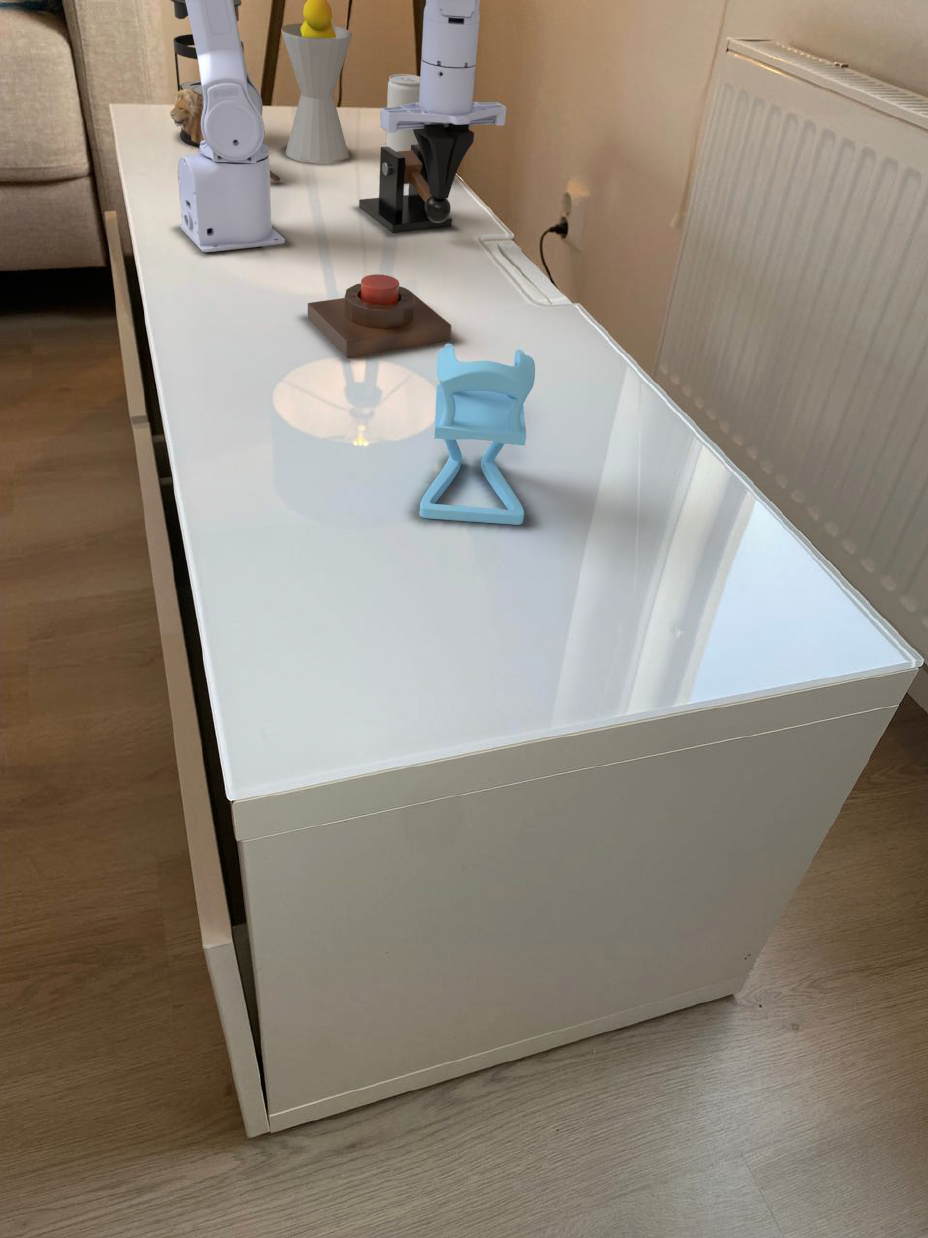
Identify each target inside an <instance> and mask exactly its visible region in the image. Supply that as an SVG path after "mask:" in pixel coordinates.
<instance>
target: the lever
mask: <svg viewBox="0 0 928 1238" xmlns="http://www.w3.org/2000/svg"><path fill="white" fill-rule="evenodd" d="M396 152H397V153H399V154H400V155H402V156H404V157H405V176H404V185H409V184H410V183H411V184H412V185H413V186H414V188H415V189H416V190H417V192H418V193H419V195H420V196H421V197H422V199H423V200H424V202H425V214H426V216H427V218H428V219H429V220H431V221H432V222H435V223H440V222H443V221H445V220H446V219H447V218H448V217H450V215H451V212H452V211H451V210H452V207H451V203H450V200H449V199H448V198H444V199H437V198H436V197H434V196H433V195H431V194H430V191H429V185H428V184H427V183H426V181H425V180H424V179H423V177H422V176H421V170H422V165H423V164H422V163H421V161H420V160H419V159H418V157H417V156H416V155H415V153H414V152H413V151H412V150H410V151H396Z"/></svg>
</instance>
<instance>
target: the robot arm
mask: <svg viewBox="0 0 928 1238" xmlns="http://www.w3.org/2000/svg"><path fill="white" fill-rule="evenodd" d="M185 1H186V6H187V11H188V20H189V24H190V29H191V34H193V38H194V43H195V45H194V48H196V52H197V57H198V59H197V63H198V71H199V78H200V79H199V80H201V85H202V90H203V112H202V117H201V131H202V135H203V137H204V140H203V141H201V142H200V147H199V151H197V152H195V153H193V154H189V155H183V156H181V157H179V159H178V161H177V181H178V192H179V203H180V214H181V223H180V229H181V230H182V231H183V233H185V235H186V236H187V237H189V239H190V240H191V241H192V242H193V243H194V244H195V245H196V247H198V248H199V250H200V251H202V252H203V253H215V252H223V251H224V252H225V251H233V250H241V249H251V248H259V247H266V246H275V245H283V244H286V239H285V238H284V237H283V236H282V235H281V234H280V233H279V232H278V231H277V230H275V229H274V227H272V204H271V203H272V201H271V177H270V171H271V169H270V148H269V146H267V144H266V143H264V138H265V132H266V131H265V123H264V119H263V112H264V111H263V109H264V106H263V99H262V96H261V94H260V92H259V90H258V88H257V87H256V85H255V84H254V82H253V80H252V79H251V77H250V75H249V72H248V68H247V63H246V59H245V53H244V54H243V50H242V45H241V41H242V40H241V36H240V30H239V25H238V21H237V19H236V14H235V9H234V3H233V0H185ZM480 4H481V0H425V6H424V9H423V21H422V39H421V59H420V76H419V77H420V91H419V102H416V103H411V104H406V105H401V106H396V107H390V108H387V107H381V108H380V117H379V118H380V122H379V128H380V129H382V130H383V131H385V132H386V131H387V132H388V133H393V132H397V130H408V129H413V132H414V135H415V137H416V139H417V142H418V144H419V147H420V149H421V152H422V155H423V159H424V162H425V167H426V171H427V176H428V183H429V191H430V194H431V195H433V196H434V197H436V198H437V199H444V198H447V199H448V198H449V197H450V192H451V191H452V186H453V183H454V181H455V178H456V175H457V172H458V171H459V170H458V169H459V167H460V166H461V163H462V161H463V159H464V157H465V156H466V154H467V153H468V151H469V149H470V148H471V146H472V145H473V144H474V140H475V132H474V131H472V130H470V126H486V125H494V126H497V127H502V126H505V125H506V116H507V106H506V105H504V104H502V103H500V102H497V101H493V102H492V101H491V102H487V101H486V102H485V101H484V102H483V101H473V99H474V88H475V75H476V65H477V53H478V44H479V43H478V41H479V32H480V31H479V29H480V21H481V20H480V19H481V15H480Z"/></svg>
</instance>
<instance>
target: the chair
mask: <svg viewBox="0 0 928 1238" xmlns="http://www.w3.org/2000/svg"><path fill="white" fill-rule="evenodd" d="M436 374H437V380H438V382H439V384H436V392H435V393H436V394H435V416H434V417H435V418H434V439H437V440H444V443H445V446H446V449H447V451H448V455H449V456H448V459H447V461H446V463H445V464H444V466H443V467H442V469H441V471H440V472H439V473H438V475H437V476H436V478H435V479H434V480H433V482H432V483H431V484H430V486H429V488H428V489H427V490H426V492H425V493H424V495H423V497H422V499H421V500H420V503H419V516H420V517H421V518H423V519H432V520H443V521H444V520H446V521H459V522H471V523H472V522H473V523H474V522H475V523H487V524H499V525H500V524H501V525H515V526H520V525H522V524H523V523H524V518H525V509H524V508H523V504H522V503H521V502H520V500H519V498H518V496H517V495H516V493H515V492H514V490H513V489H512V488H511V486H510V485H509V483H508V482H507V480H506V479H505V476H503V473H502V472H501V470H500V469H499V467H498V465H497V463H496V457H497V456H498V454H499V453H500V452H501V450H502V448H503V447H504V446H505V445H515V446H526V439H527V427H526V419H525V411H524V409H525V408H524V403H525V402H526V400H527V398H528V396H529V394H530V392H531V391H532V389H533V388H534V385H535V379H536V364H535V359H534V358H533V357H532V356H531V355H528V354H526V353H525V352H524V350H522V349H516V350H515V352H514V362H513V365H508V364H505V363H500V362H497V361H492V360H476V361H460V360H459V359H457V357H456V348H455V346H454V345H453V344H452V343H446V344H445V345H444V347H442V348H440V349H439V350H438V352H437V356H436ZM458 440H459V441H460V440H461V441H463V440H473V441H474V440H477V441H489V442H491V443H490V444H489V446H488V447H487V449H485V451H484V452H483V454H482V456H481V461H480V468H481V471H482V474H483V476H484V477H485V479H486V480H487V482H488V483H489V485H490V486H491V488H492V489H493V490H494V492H495V493H496V495H497V497H498V498H499V499H500V501H501V502H502V503H503V505H504V506H505V508H506V509H503V508H491V507H479V506H478V507H477V506H464V505H452V504H441V503H437V502H438V501H439V499H440V498H441V496H442V495H443V494H444V493H445V491H446V490H447V488H449V486H450V485H451V483H452V482H453V480H454V479H455V478H456V476H457V475H458V473H459V472H460V470H461V466H462V457H463V453H462V452H461V449H460V447H459V444H458Z"/></svg>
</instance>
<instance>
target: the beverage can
mask: <svg viewBox="0 0 928 1238" xmlns="http://www.w3.org/2000/svg"><path fill="white" fill-rule="evenodd" d="M388 79H389V80H388V82H387V96H386V97H387V98H386V99H387V101H386V108H390V107H396V106H401V105H406V104H411V103H416V102H419V91H420V76H419V75H415V74H407V73H396V74H391V75H389V76H388ZM416 144H418V142H417V139H416V137H415V135H414V132H413V129H408V130H397V132H393V133H388V132H387V131H385V147H386V146H388V147H390V148H391V149H393V150H394V151H410V150H411V145H416ZM418 145H419V144H418Z"/></svg>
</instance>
